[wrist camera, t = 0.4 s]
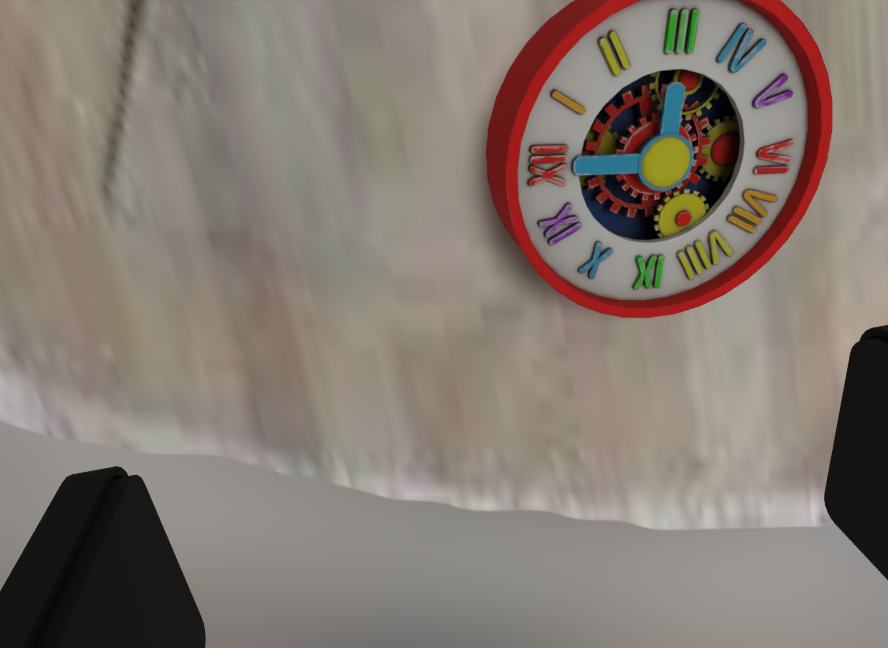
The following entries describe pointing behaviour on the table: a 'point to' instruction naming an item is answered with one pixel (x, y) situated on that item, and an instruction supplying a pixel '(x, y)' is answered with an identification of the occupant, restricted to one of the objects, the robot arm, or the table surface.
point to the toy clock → (659, 148)
